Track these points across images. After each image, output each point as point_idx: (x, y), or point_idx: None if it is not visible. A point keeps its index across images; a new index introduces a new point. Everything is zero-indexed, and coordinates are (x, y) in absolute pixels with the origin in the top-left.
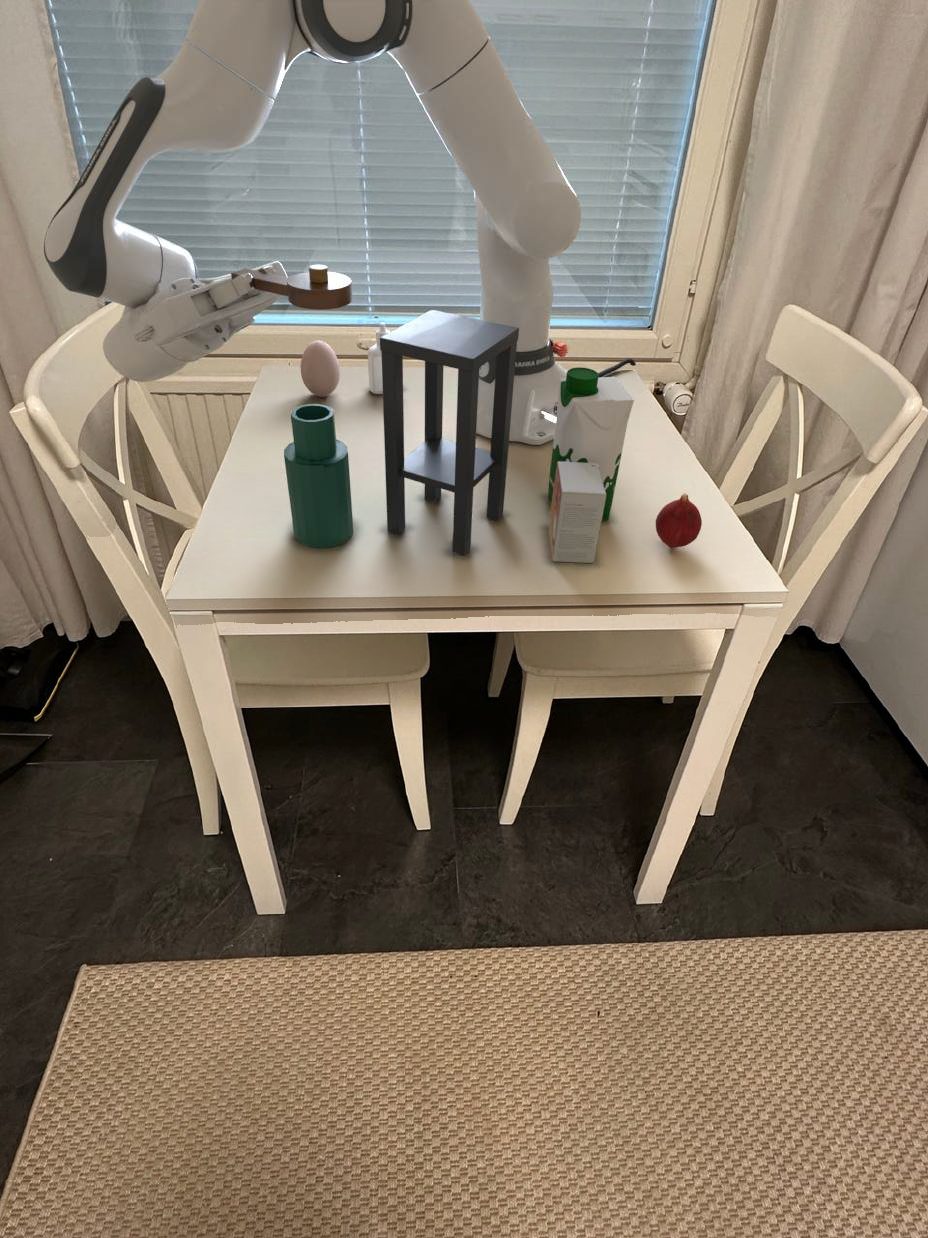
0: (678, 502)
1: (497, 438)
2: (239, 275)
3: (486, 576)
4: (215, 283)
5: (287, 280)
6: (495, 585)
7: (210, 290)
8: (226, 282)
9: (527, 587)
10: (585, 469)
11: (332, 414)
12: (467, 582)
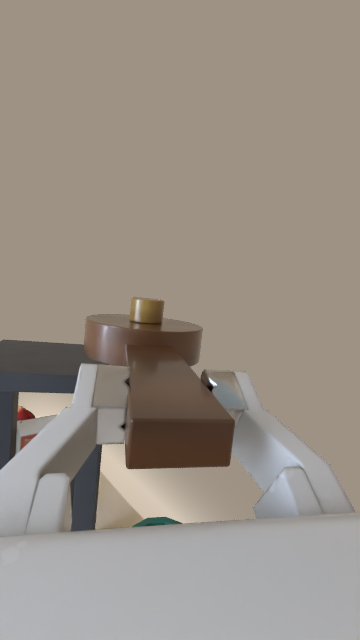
0: (23, 411)
1: (12, 457)
2: (245, 373)
3: (113, 512)
4: (309, 516)
5: (186, 331)
6: (121, 503)
7: (350, 507)
8: (281, 423)
9: (111, 487)
10: (30, 423)
11: (145, 519)
12: (129, 519)
